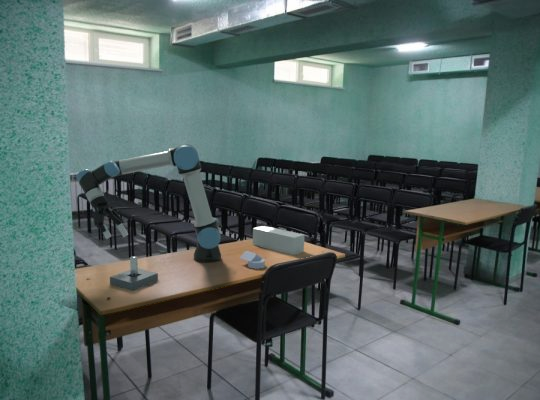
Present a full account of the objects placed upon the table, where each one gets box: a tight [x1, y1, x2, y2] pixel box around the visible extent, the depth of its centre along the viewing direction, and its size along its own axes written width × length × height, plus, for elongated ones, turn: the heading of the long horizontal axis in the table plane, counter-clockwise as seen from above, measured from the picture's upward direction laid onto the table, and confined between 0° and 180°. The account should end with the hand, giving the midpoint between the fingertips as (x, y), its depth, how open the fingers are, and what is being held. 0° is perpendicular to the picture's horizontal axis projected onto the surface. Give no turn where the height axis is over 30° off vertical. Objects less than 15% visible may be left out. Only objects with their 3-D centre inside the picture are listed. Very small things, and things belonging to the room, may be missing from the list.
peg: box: [129, 255, 139, 277], centre depth 200 cm, size 3×3×12 cm
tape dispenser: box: [239, 250, 266, 270], centre depth 232 cm, size 9×7×13 cm
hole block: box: [109, 267, 159, 291], centre depth 201 cm, size 16×14×4 cm
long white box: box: [251, 225, 306, 256], centre depth 267 cm, size 32×11×11 cm, turn 51°
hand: (117, 236), depth 206 cm, fingers open, 13 cm apart
